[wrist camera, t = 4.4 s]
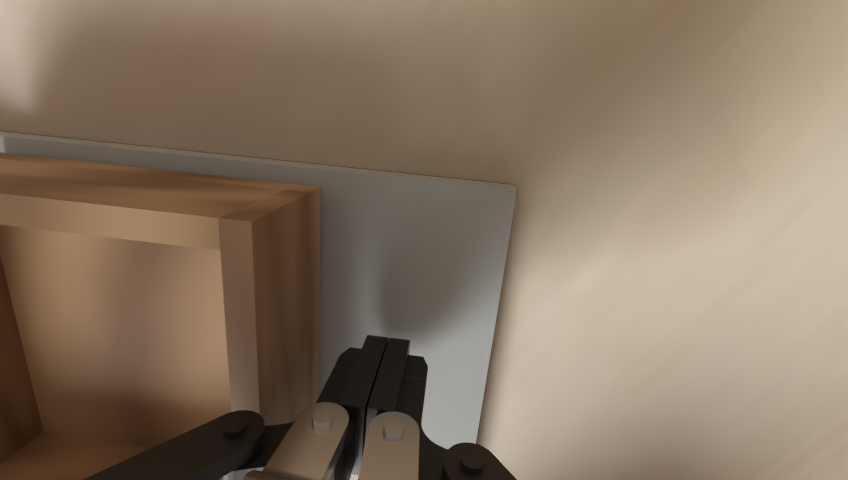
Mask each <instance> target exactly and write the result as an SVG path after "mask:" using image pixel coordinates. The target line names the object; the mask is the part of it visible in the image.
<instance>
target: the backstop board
mask: <svg viewBox="0 0 848 480" xmlns="http://www.w3.org/2000/svg"><path fill="white" fill-rule="evenodd" d="M0 152H1V153H10V154H20V155H29V156H38V157H48V158H57V159H66V160H76V161H85V162H94V163H104V164H113V165H122V166H132V167H141V168H150V169H160V170H169V171H178V172H188V173H197V174H206V175H216V176H225V177H234V178H244V179H253V180H262V181H272V182H281V183H290V184H300V185H309V186H318V187H321V210H320V291H319V373H318V398H319V396H320V394H321V392H322V390H323V388H324V386H325V384H326V382H327V380H328V378H329V376H330V375H331V372H332V370H333V368H334V367H335V364H336V362H337V360H338V358H339V356H340V355H341V354H342V353H343V352H345V351H346V350H347V349H349V348H350V347H352V348H360V349H362V346H363V344H364V341H365V339H366V337H367V335H374V336H382V337H388V338H398V339H406V340H410V352H409V355H414V356H422V357H424V359H425V361H426V363H427V365H428V372H427V381H426V390H425V399H424V407H423V415H422V423H421V425H422V429H423V431H424V433H425V435H426V436H427V437H428V438H429V439H430V440H431V441H432V442H434V443H435V444H437V445H439V446H441V447H443V448H445V449H449V448H450V447H452V446H453V445H455V444H458V443H464V442H469V443H475V444H476V440H477V434H478V428H479V421H480V415H481V409H482V403H483V397H484V391H485V385H486V379H487V373H488V366H489V360H490V354H491V348H492V342H493V336H494V330H495V324H496V318H497V311H498V305H499V299H500V293H501V287H502V281H503V275H504V269H505V263H506V256H507V250H508V244H509V238H510V232H511V226H512V220H513V214H514V208H515V201H516V195H517V189H516V187H515V186H514V185H511V184H501V183H492V182H482V181H473V180H463V179H453V178H444V177H434V176H425V175H415V174H405V173H396V172H386V171H377V170H367V169H357V168H348V167H338V166H328V165H319V164H309V163H300V162H290V161H280V160H271V159H261V158H252V157H242V156H232V155H223V154H213V153H204V152H194V151H184V150H175V149H165V148H156V147H146V146H136V145H127V144H117V143H108V142H98V141H88V140H79V139H69V138H60V137H50V136H40V135H31V134H21V133H12V132H2V131H0Z"/></svg>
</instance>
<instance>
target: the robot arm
mask: <svg viewBox="0 0 848 480" xmlns="http://www.w3.org/2000/svg"><path fill="white" fill-rule="evenodd" d="M409 352H410V340H406V339H398V338H388V337H382V336H374V335H367V337H366V339H365V341H364V344H363V346H362V349H360V348H352V347H350V348H349V349H347V350H346V351H345V352H343V353H342V354H341V355H340V356H339V358H338V360H337V362H336V364H335V367H334V368H333V370H332V372H331V375H330V376H329V378H328V380H327V382H326V384H325V386H324V388H323V390H322V392H321V394H320V396H319V398H318V400H317V402H316V404H313V405H311V406H309V407H307V408H305V409H304V410H303V411H302V412H301V413H300V414H299V415H298V417H297V418H296V420H295V421H294V422H290V423H285V424H278V425H269V426H265V423H264V419H263V418H262V416H261V415H260V414H258V413H256V412H254V411H249V410H238V411H233V412H230V413H227V414H225V415H222V416H220V417H218V418H216V419H214V420H211V421H209V422H207V423H205V424H203V425H201V426H198V427H196V428H194V429H192V430H190V431H188V432H185V433H183V434H181V435H179V436H177V437H174V438H172V439H170V440H168V441H166V442H164V443H161V444H159V445H157V446H155V447H153V448H151V449H148V450H146V451H144V452H142V453H140V454H137V455H135V456H133V457H131V458H129V459H127V460H124V461H122V462H120V463H118V464H116V465H113V466H111V467H109V468H107V469H105V470H103V471H100V472H98V473H96V474H94V475H92V476H90V477H87V478H85V479H83V480H350V477H351V474H355V475H359V477H358V480H517V479H516V478H515V477H514V476H513V475H512V474H511V473H510V472H509V471H508V470H507V469H506V468H505V467H504V466H503V465H502V463H501V462H500V461H499V460H498V459H497V458H496V457H495V456H494V455H493V454H492V453H491V452H490V451H489V450H487V449H486V448H484V447H483V446H481V445H478V444H475V443H469V442H464V443H458V444H455V445H453V446H452V447H450V448H449V449H445V448H443V447H441V446H439V445H437V444H435V443H434V442H432V441H431V440H430V439H429V438H428V437H427V436H426V435H425V433H424V431H423V429H422V425H421V423H422V415H423V407H424V399H425V390H426V381H427V372H428V365H427V363H426V361H425V359H424V357H422V356H414V355H409Z"/></svg>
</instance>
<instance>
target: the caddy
mask: <svg viewBox="0 0 848 480" xmlns="http://www.w3.org/2000/svg"><path fill="white" fill-rule="evenodd" d="M320 210H321V187H318V186H309V185H300V184H290V183H281V182H272V181H262V180H253V179H244V178H234V177H225V176H216V175H206V174H197V173H188V172H178V171H169V170H160V169H150V168H141V167H132V166H122V165H113V164H104V163H94V162H85V161H76V160H66V159H57V158H48V157H38V156H29V155H20V154H10V153H1V152H0V480H83V479H85V478H87V477H90V476H92V475H94V474H96V473H98V472H100V471H103V470H105V469H107V468H109V467H111V466H113V465H116V464H118V463H120V462H122V461H124V460H127V459H129V458H131V457H133V456H135V455H137V454H140V453H142V452H144V451H146V450H148V449H151V448H153V447H155V446H157V445H159V444H161V443H164V442H166V441H168V440H170V439H172V438H174V437H177V436H179V435H181V434H183V433H185V432H188V431H190V430H192V429H194V428H196V427H198V426H201V425H203V424H205V423H207V422H209V421H211V420H214V419H216V418H218V417H220V416H222V415H225V414H227V413H230V412H233V411H238V410H249V411H254V412H256V413H258V414H260V415H261V416H262V418H263V419H264V423H265V426H269V425H278V424H285V423H290V422H294V421H295V420H296V418H297V417H298V415H299V414H300V413H301V412H302V411H303V410H304V409H305V408H307V407H309V406H311V405H313V404H316V402H317V400H318V373H319V291H320Z"/></svg>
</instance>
